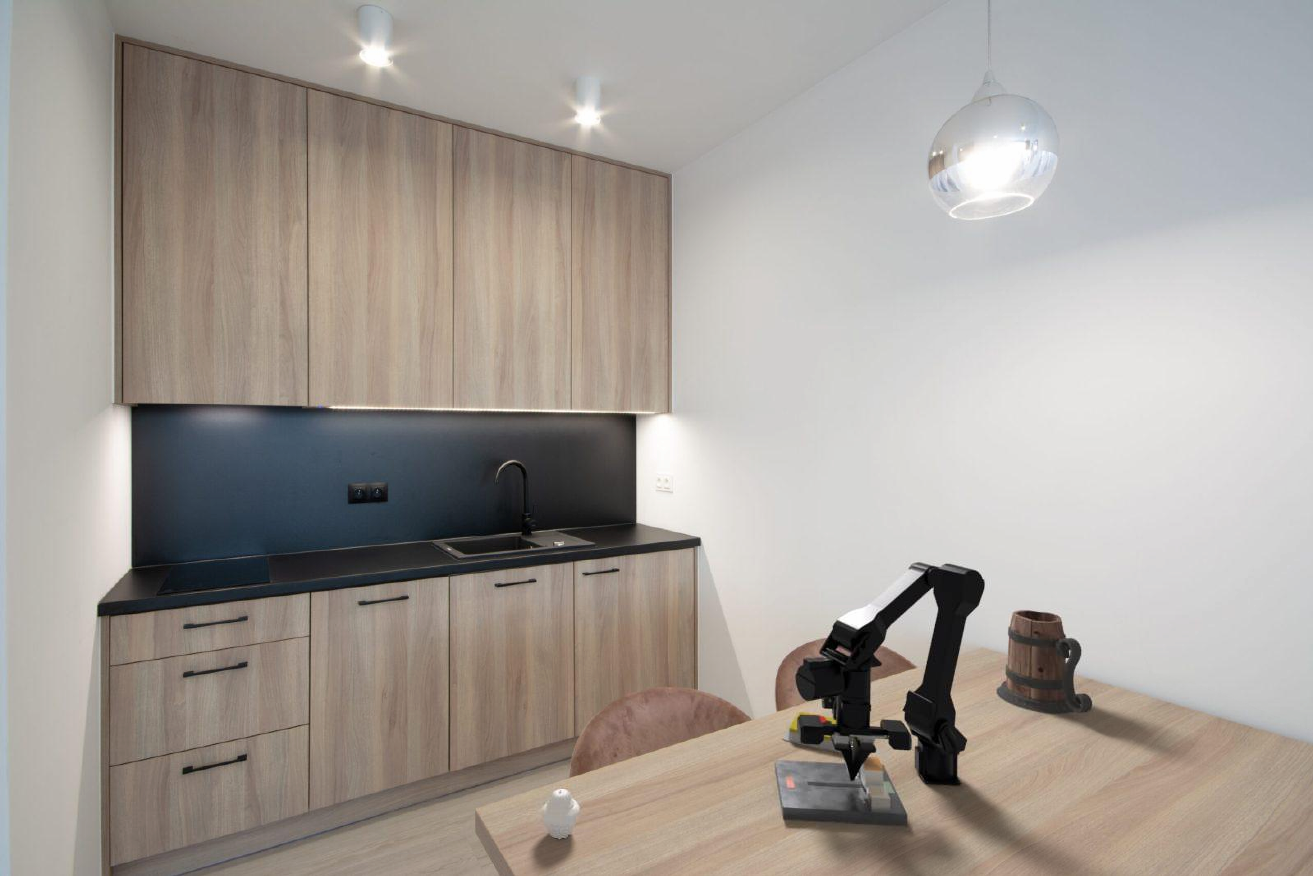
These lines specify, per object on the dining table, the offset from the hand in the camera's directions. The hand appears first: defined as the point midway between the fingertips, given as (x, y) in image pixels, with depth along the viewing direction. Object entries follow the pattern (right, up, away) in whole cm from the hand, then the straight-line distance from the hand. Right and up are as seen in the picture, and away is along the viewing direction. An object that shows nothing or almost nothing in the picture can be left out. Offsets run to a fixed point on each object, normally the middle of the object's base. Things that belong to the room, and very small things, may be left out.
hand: (851, 779), depth 111 cm
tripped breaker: (+3, -1, 0) cm, 4 cm away
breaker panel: (-3, -3, 0) cm, 4 cm away
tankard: (+57, -3, +37) cm, 68 cm away
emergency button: (0, -4, +21) cm, 22 cm away
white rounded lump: (-50, -4, -10) cm, 51 cm away
